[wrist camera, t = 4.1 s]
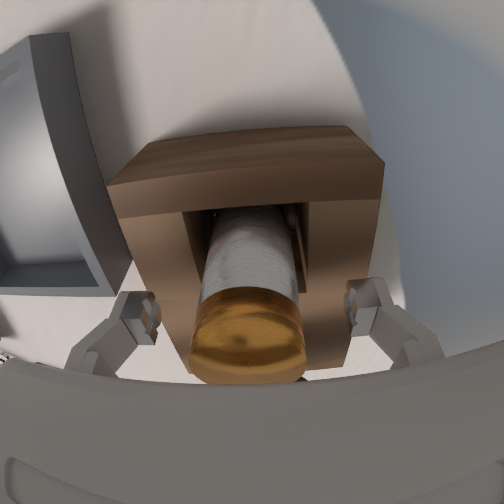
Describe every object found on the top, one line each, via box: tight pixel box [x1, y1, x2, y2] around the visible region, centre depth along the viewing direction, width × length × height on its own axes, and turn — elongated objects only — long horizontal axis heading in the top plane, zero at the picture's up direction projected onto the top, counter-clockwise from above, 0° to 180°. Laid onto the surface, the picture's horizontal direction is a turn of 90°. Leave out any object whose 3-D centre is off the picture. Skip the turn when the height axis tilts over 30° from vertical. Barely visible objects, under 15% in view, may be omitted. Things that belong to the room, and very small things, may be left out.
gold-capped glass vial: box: [188, 203, 307, 384], centre depth 14 cm, size 4×4×12 cm
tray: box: [0, 32, 132, 297], centre depth 16 cm, size 18×16×4 cm
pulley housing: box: [106, 126, 385, 382], centre depth 17 cm, size 16×12×11 cm
